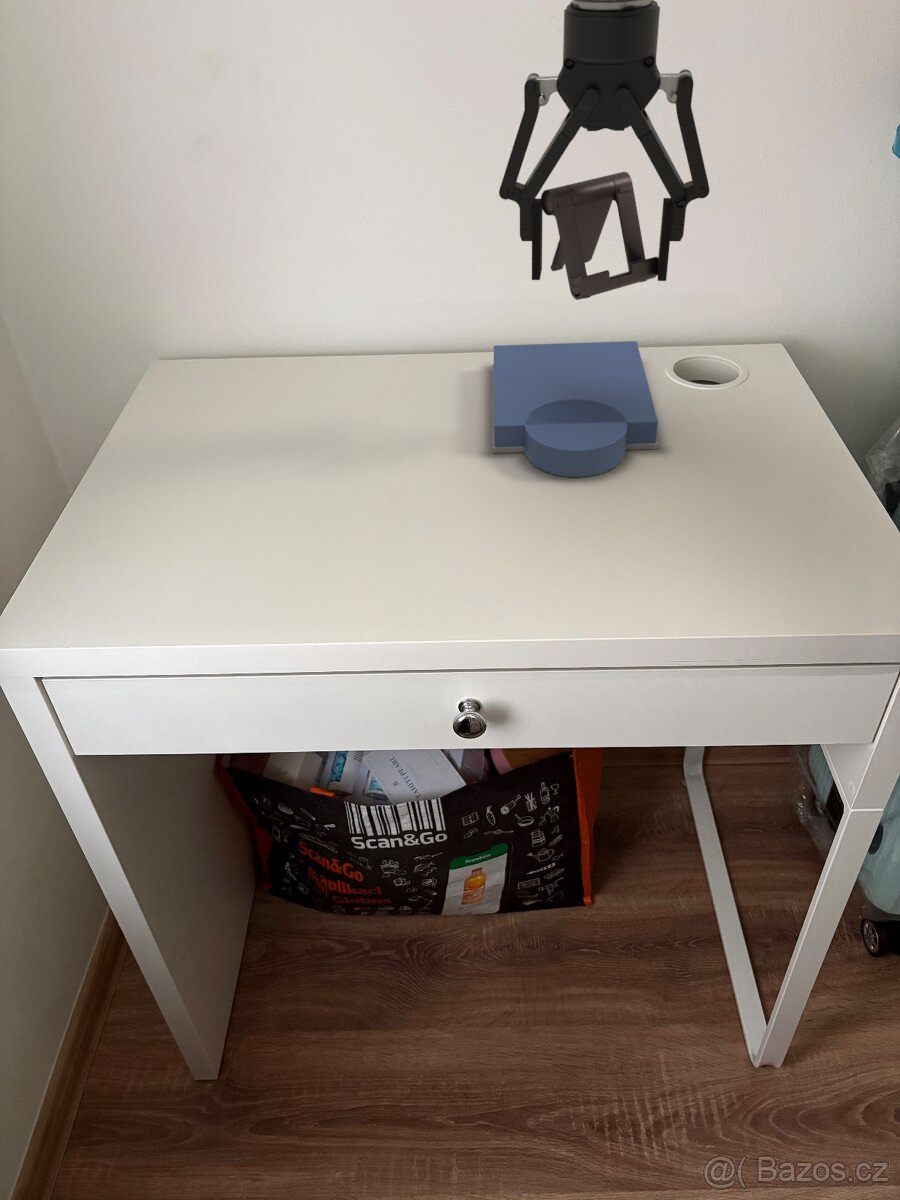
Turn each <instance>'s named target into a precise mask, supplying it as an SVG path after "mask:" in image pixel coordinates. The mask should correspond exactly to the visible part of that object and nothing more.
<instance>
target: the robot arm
mask: <svg viewBox="0 0 900 1200" xmlns="http://www.w3.org/2000/svg"><path fill="white" fill-rule="evenodd" d="M660 11H661V7H660V6H659V4H658V2H657V0H571V1H570V3H569V4H568V5H566V8H565V9H564V10H563V38H562V39H563V42H562V45H563V46H562V67H561V69H560V71H559V73H558V74H557V75H551V76H550V75H549V76H548V75H547V76H540V75H539V74H538V73H536V72H532V73H529V74H528V76H527V77H526V81H525V83H524V87H523V95H524V96H523V97H524V100H523V105H524V111H523V114H522V117H521V120H520V123H519V126H518V130H517V132H516V136H515V139H514V142H513V145H512V147H511V148H512V149H511V151H510V154H509V158H508V162H507V164H506V168H505V171H504V174H503V177H502V181H501V183H500V186H499V190H498V195H499V197H500V198H501V199H502V200H504V201H505V200H506V201H507V200H509V201H513V202H515V203H516V204H517V205H518V208H519V237H520V239H521V242H531V281H540V280H541V276H542V271H543V213H544V211H543V209H542V206H541V198H537V196H538V194H539V193H540V191H541V190H542V188H543V187H544V186H545V184H546V183H547V180H548V179H549V178H550V175H551V174H552V173H553V171H554V169H555V168H556V166H557V164H558V163H559V161H560V160H561V158H562V156H563V154H565V152H566V150H567V149H568V147H569V145H570V144H571V142H572V141H573V140H574V139H575V138H576V135H577V134H578V132H579V131H580V129H581V128H583V129H585V130H586V131H587V132H598V131H602V130H605V129H607V130H611V131H615V132H625V130H626V129H628V128H630V127H631V129H632V131H633V133H634V135H635V136H636V138H637V139H638V140H639V142H640V143H641V146H642V147H643V149H644V151H645V153H646V155H647V157H648V159H649V160H650V162H651V164H652V166H653V168H654V169H655V172H656V173H657V175H658V177H659V179H660V181H661V182H662V184H663V186H664V188H665V190H666V191H667V194H668V195H669V197H663V200H662V213H661V222H660V223H661V224H660V235H659V247H658V256H657V257H658V258H659V266H658V274H657V281H658V282H666V281H667V278H668V267H669V266H668V265H669V256H670V246H671V245H670V244H671V242H681V241H682V239H683V238H684V231H685V222H686V214H687V213H686V212H687V207H688V205H689V204H690V202H692V201H695V200H697V199H705V198H707V197H708V196H709V194H710V184H709V180H708V175H707V171H706V166H705V162H704V157H703V152H702V148H701V144H700V140H699V134H698V130H697V126H696V121H695V116H694V112H693V107H692V102H693V92H694V78H693V74H692V72H691V70H689V69H688V68H687V69H682V70H680V71H679V73H677V72H676V73H660V71H659V68H658V65H657V52H658V39H659V27H660V15H661V13H660ZM659 90H662V91H663V92H664V93H665V95H666V100H667V101H668V103H670V104H672V105H675V111H676V116H677V121H678V126H679V131H680V133H681V134H680V135H681V139H682V143H683V147H684V152H685V155H686V160H687V164H688V169H689V172H690V177H691V180H689V181H688V182H684V181H683V179H682V177H681V176H680V174H679V171H677V168H676V166H675V164H674V162H673V160H672V159H671V156H670V155H669V153H668V151H667V149H666V148H665V145H664V144H663V142H662V139H661V138H660V137H659V135H658V132H657V131H656V129H655V127H654V125H653V123H652V120H651V118H650V116H649V114H648V113H647V111H646V108H647V107H648V105H649V104H650V102H651V101H652V100H653V98H654V97H655V96H656V95H657V93H658V91H659ZM555 92H557V93H558V95H559V97H560V98H561V100H562V102H563V103H564V104H565V106H566V107H567V110H568V112H567V114H566V116H565V117H564V119H563V120H562V122H561V124H560V126H559V128H558V130H557V131H556V132H555V134H554V136H553V138H552V139H551V141H550V142H549V144H548V145H547V147H546V149H545V151H544V152H543V154H542V156H540V159H539V161H538V162H537V164H536V165H535V167H534V169H533V170H532V171H531V174H530V175H529V177H528V178H527V180H526V182H525V183H521V182H519V181H518V178H519V175H520V173H521V169H522V165H523V163H524V160H525V156H526V153H527V151H528V147H529V144H530V141H531V138H532V136H533V132H534V129H535V126H536V123H537V119H538V115H539V112H540V109H541V107H544V106H547V105H548V104H549V101H550V97H551V95H552V94H554V93H555Z"/></svg>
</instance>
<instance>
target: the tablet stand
mask: <svg viewBox="0 0 900 1200" xmlns="http://www.w3.org/2000/svg"><path fill="white" fill-rule="evenodd" d="M540 199H541V206H542V209H543V213H544V214H545V215H546V216H549V217H550V216H554V218H555V221H556V227H557V231H558V236H559V240H558V243H557V246H556V249H555V253H554V256H553V258H552V263H551V265H550V270H551V271H552V272H556V271H557V272H558V271H560V270H563V269H564V266H565V271H566V272H565V273H566V277H567V282H568V287H569V291H570V294H571V296H572V297H573V299H574V300H576V301H580V300H584V299H585V300H586V299H588V298H591V297H593V296H596V295H600V294H603V293H607V292H610V291H613V290H617V289H621V288H624V287H627V286H631V285H634V284H638V283H644V282H647V281H648V280H651V279H655V278H657V277H658V266H659V258H658V256H653V257H649V258H646V254H645V248H644V242H643V237H642V231H641V224H640V218H639V212H638V207H637V202H636V195H635V190H634V184H633V180H632V177H631V175H630V173H629V172H627V171H621V172H616V173H612V174H608V175H604V176H600V177H595V178H591V179H588V180H583V181H578V182H573V183H570V184H566V185H561V186H557V187H553V188H547V189H545V190H543V191H542V193H541V195H540ZM613 201H614V202H615V204H616V207H617V213H618V219H619V224H620V230H621V235H622V240H623V241H622V242H623V246H624V252H625V258H626V263H627V269H628V271H625V272H622V273H618V274H614V275H610V271H609V269H606V270H603V271H600V272H594V273H592V274H588V273H587V268H586V263H589V262H590V261H592V259H593V256H594V254H595V251H596V248H597V245H598V243H599V240H600V237H601V234H602V231H603V229H604V226H605V223H606V221H607V218H608V215H609V213H610V209H611V206H612V203H613Z"/></svg>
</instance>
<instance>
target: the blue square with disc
mask: <svg viewBox="0 0 900 1200" xmlns="http://www.w3.org/2000/svg"><path fill="white" fill-rule="evenodd" d="M491 367H492V369H491V371H492V372H491V373H492V381H491V382H492V386H491V387H492V388H491V389H492V393H491V394H492V397H491V398H492V399H491V400H492V401H491V402H492V404H491V405H492V453H493V454H505V453H506V454H509V453H511V454H512V453H524V455H525V457H526V459H527V460H528V462H529V463H530V464H531V465H532V466H534V467H535V468H537V469H539V470H540V471H543V472H545V473H547V474H550V475H554V476H559V477H566V478H586V477H594V476H597V475H601V474H604V473H607V472H609V471H611V470H613V469H615V468H616V467H617V466H618V465H620V464H621V463H622V461H623V460H624V458H625V455H626V451H628V450H629V451H630V450H633V451H634V450H658V447H659V442H658V439H657V438H658V437H657V436H658V435H657V434H658V426H659V420H658V417H657V413H656V409H655V406H654V401H653V398H652V393H651V390H650V386H649V383H648V378H647V375H646V371H645V368H644V363H643V360H642V356H641V352H640V349H639V344H638V341H637V340H630V341H629V340H627V341H597V342H596V341H595V342H567V343H566V342H565V343H564V342H563V343H562V342H561V343H535V344H534V343H533V344H530V343H529V344H503V345H502V344H501V345H500V344H499V345H493V364H492V366H491Z"/></svg>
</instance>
